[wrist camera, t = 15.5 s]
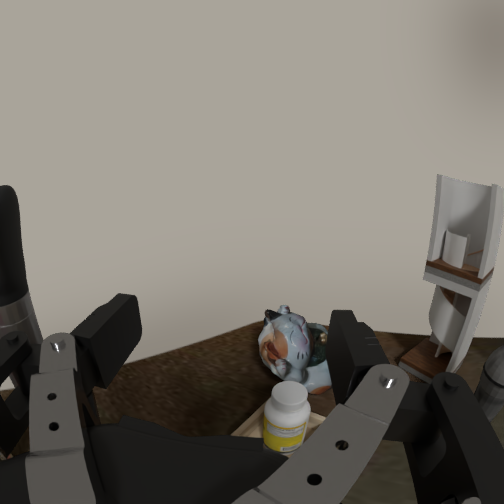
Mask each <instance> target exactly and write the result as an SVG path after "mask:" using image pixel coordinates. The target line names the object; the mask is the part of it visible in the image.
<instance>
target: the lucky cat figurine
mask: <svg viewBox="0 0 504 504" xmlns="http://www.w3.org/2000/svg"><path fill="white" fill-rule="evenodd" d="M265 316H266V317H265V318H264V328H263V330H262V332H261V333H260V336H259V338H258V342H259V347H260V348H259V353H260V356H261V358H262V361H263V363H264V364H265V365H266V366H267V367H268V368H269V369H270V370H271V371H272V372H273V373H274V374H275V375H277V376H278V377H279V378H281V379H282V380H284V381H295V382H298V383H300V384H302V385H303V386H305V388H306V389H307V392H309V393H310V394H314V395H319V394H322V393H324V392H325V391H327V390H329V389H331V388H333V387H332V383H331V378H330V374H329V369H328V365H327V361H326V355H325V347H326V340H327V335H328V331H327V330H326V328H325V327H324V326H322V325H320V324H317V323H308V324H307V322H306V320H305V318H304V317H303V316H300V315H297V314H295V313H292V312H290V309H289V307H288V306H286V305H282V306H280V309H279V310H278V311H277V312H275V311H272V310H268V309H267V310H266V311H265Z"/></svg>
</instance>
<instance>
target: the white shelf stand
mask: <svg viewBox="0 0 504 504" xmlns="http://www.w3.org/2000/svg"><path fill="white" fill-rule="evenodd" d="M503 213H504V189H503V188H501V187H500V186H498V185H495V184H492V187H491V186H485V185H480V184H475V183H470V182H466V181H460V180H457V179H453V178H450V177H447V176H443V175H438V174H437V184H436V197H435V207H434V216H433V224H432V232H431V238H430V245H429V251H428V257H427V262H426V267H425V272H424V277H423V280H426V281H428V282H431V283H434V284H436V288H435V293H434V296H433V300H432V304H431V308H430V311H429V322H430V325H431V328H432V330H433V331H432V334H431V337H430V338H428V337H426V338H425V339H424V340H422V341H421V342H420V343H419V344H418V345H416V346H415V347H414V348H413V349H411V350H410V351H409V352H408V353H406V354H405V355H404V356H402V357H401V359H400V362H399V365H398V366H399V367H401V368H403V369H404V370H406V371H408V372H409V373H411V374H413V375H415V376H416V377H418V378H420V379H422V380H423V381H425V382H427V383H429V384H431V382H432V380H433V378H434V376H435V375H436V374H438V373H441V372H451V373H455V372H456V371H457V370H458V368H459V367H460V366H461V364H462V362H463V360H464V358H465V356H466V353H467V351H468V348H469V346H470V343H471V341H472V338H473V335H474V333H475V330H476V327H477V324H478V322H479V319H480V316H481V313H482V310H483V306H484V303H485V300H486V297H487V293H488V290H489V286H490V282H491V278H492V274H493V270H494V265H495V261H496V256H497V251H498V246H499V240H500V234H501V228H502V221H503Z"/></svg>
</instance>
